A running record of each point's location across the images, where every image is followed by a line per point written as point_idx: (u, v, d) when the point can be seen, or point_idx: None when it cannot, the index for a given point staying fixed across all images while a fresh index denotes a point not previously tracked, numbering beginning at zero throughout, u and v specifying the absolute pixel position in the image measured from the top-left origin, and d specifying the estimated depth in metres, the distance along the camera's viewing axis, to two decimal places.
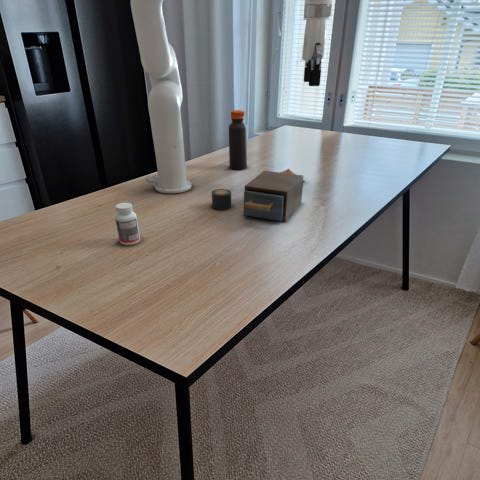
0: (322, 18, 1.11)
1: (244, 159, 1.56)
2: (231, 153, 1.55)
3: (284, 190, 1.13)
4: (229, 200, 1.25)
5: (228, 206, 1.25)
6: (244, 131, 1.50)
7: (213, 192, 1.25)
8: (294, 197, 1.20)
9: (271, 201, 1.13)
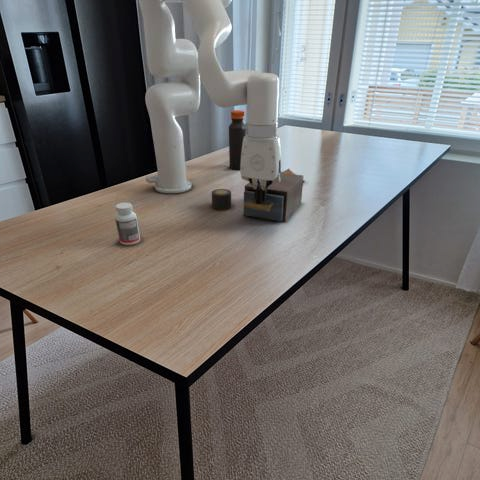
0: (276, 136, 1.02)
1: None
2: (231, 153, 1.55)
3: (284, 190, 1.13)
4: (229, 200, 1.25)
5: (228, 206, 1.25)
6: (244, 131, 1.50)
7: (213, 192, 1.25)
8: (294, 197, 1.20)
9: (271, 201, 1.13)
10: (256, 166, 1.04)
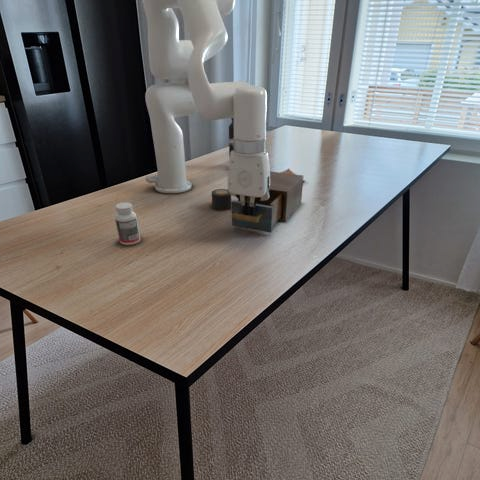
0: (265, 151, 0.97)
1: None
2: None
3: (284, 190, 1.13)
4: (229, 200, 1.25)
5: (228, 206, 1.25)
6: None
7: (213, 192, 1.25)
8: (294, 197, 1.20)
9: (260, 212, 1.07)
10: (244, 182, 1.00)
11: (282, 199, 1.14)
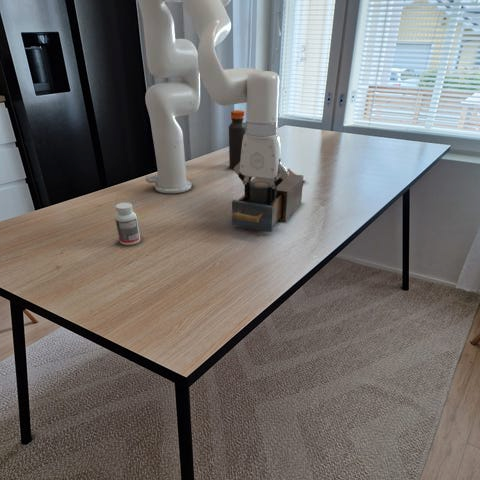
0: (276, 134, 1.02)
1: None
2: (231, 153, 1.55)
3: (284, 190, 1.13)
4: None
5: (268, 201, 1.10)
6: (244, 131, 1.50)
7: (251, 185, 1.10)
8: (294, 197, 1.20)
9: (260, 211, 1.07)
10: (256, 164, 1.04)
11: (282, 199, 1.15)
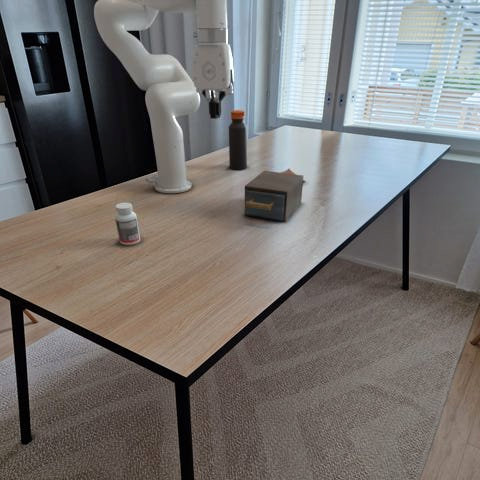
0: (227, 43, 1.02)
1: (244, 159, 1.56)
2: (231, 153, 1.55)
3: (284, 190, 1.13)
4: None
5: None
6: (244, 131, 1.50)
7: None
8: (294, 197, 1.20)
9: (272, 200, 1.14)
10: (208, 75, 1.05)
11: None
